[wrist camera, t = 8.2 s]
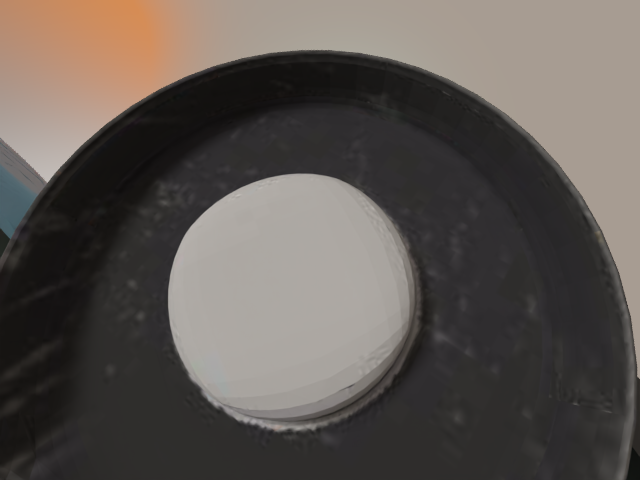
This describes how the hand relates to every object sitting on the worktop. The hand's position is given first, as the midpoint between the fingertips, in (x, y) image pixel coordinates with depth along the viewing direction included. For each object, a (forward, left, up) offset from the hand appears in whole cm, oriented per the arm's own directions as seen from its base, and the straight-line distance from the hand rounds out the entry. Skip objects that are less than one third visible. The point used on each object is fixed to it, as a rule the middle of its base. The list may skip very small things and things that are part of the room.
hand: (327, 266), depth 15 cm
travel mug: (+3, -3, -9) cm, 9 cm away
